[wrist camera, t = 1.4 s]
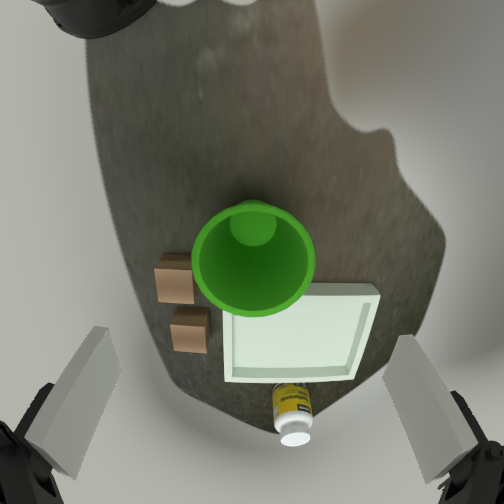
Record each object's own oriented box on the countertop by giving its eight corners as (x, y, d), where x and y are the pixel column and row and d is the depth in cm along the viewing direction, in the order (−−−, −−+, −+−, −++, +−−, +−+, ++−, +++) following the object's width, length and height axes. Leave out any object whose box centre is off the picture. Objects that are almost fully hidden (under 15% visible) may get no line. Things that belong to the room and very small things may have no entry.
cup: (245, 275, 33) (242, 336, 23) (193, 214, 30) (165, 254, 20) (311, 231, 31) (338, 277, 21) (261, 163, 28) (267, 176, 18)
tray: (224, 280, 33) (222, 293, 31) (371, 283, 34) (380, 295, 31) (226, 366, 39) (224, 381, 36) (348, 365, 39) (353, 379, 36)
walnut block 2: (177, 305, 35) (170, 324, 31) (209, 307, 35) (204, 326, 31) (180, 330, 36) (174, 350, 33) (210, 333, 36) (206, 353, 33)
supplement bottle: (311, 378, 40) (321, 429, 31) (301, 399, 42) (309, 448, 33) (276, 376, 39) (280, 429, 30) (268, 398, 41) (271, 448, 32)
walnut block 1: (164, 253, 32) (154, 268, 28) (198, 255, 32) (191, 270, 29) (167, 284, 34) (158, 301, 30) (199, 286, 34) (194, 304, 30)
